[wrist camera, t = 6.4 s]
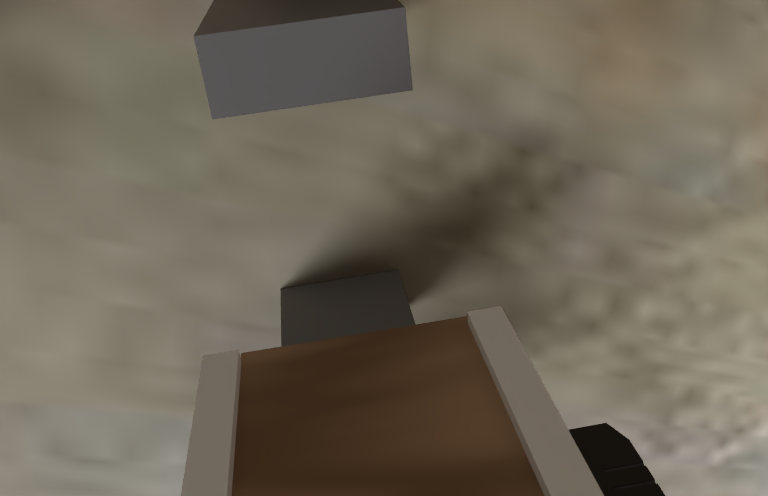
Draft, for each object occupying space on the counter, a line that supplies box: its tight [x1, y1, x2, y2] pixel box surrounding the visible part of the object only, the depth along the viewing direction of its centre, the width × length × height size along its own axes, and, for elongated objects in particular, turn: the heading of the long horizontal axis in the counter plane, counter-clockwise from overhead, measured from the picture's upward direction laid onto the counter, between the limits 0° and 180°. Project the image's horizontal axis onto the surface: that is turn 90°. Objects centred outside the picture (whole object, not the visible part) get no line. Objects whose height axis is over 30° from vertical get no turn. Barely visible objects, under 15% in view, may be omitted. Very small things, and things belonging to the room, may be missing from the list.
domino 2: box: [281, 270, 415, 347], centre depth 27 cm, size 5×2×9 cm, turn 96°
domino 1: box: [194, 0, 413, 119], centre depth 21 cm, size 5×2×9 cm, turn 96°
